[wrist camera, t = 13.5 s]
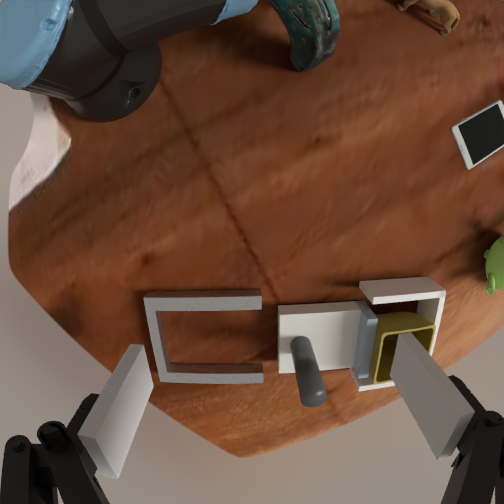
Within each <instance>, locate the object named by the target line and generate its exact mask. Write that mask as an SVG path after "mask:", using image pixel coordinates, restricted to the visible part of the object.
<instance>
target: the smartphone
mask: <svg viewBox="0 0 504 504" xmlns="http://www.w3.org/2000/svg"><path fill="white" fill-rule="evenodd" d="M451 131H452V133H453V136H454V138H455V140H456V143H457V145H458V148H459V150H460V153H461V155H462V158H463V160H464V163H465V165H466V168H467V169H468V168H469V169H471V168H473V167H474V166H476V165H477V164H478V163H480V162H481V161H483V160H484V159H486V158H487V157H489V156H490V155H492V154H493V153H494V152H496V151H497V150H499V149H500V148H502V147H503V146H504V106H503V104H502V102H501V101H500V100H498V101H496V102H494V103H492V104H491V105H489V106H487V107H485V108H484V109H482V110H480V111H478V112H476V113H475V114H472V115H471V116H469V117H467V118H465V119H464V120H462V121H460V122H459V123H457V124H455V125H453V126H452V127H451ZM469 169H468V170H469Z"/></svg>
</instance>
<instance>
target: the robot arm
mask: <svg viewBox="0 0 504 504" xmlns="http://www.w3.org/2000/svg"><path fill="white" fill-rule="evenodd" d="M257 2H258V0H2V2H1V3H0V83H3V84H6V85H8V86H10V87H11V88H13V89H17V90H18V89H21V90H26V91H31V92H35V93H39V94H44V95H48V96H52V97H56V98H60V99H63V100H65V102H66V104H67V105H68V107H69V108H70V109H71V110H72V111H73V112H74V113H75V114H77V115H78V116H80V117H82V118H85V119H88V120H92V121H97V122H110V121H115V120H118V119H121V118H123V117H125V116H127V115H129V114H131V113H132V112H134V111H135V110H136V109H138V108H139V107H140V106H141V105H142V104H143V103H144V102H145V101H146V100H147V99H148V97H149V96H150V95H151V93H152V92H153V90H154V88H155V86H156V84H157V82H158V79H159V76H160V72H161V66H162V58H161V52H160V49H159V46H158V44H157V43H156V41H159V40H162V39H164V38H167V37H170V36H172V35H175V34H178V33H181V32H184V31H187V30H190V29H193V28H196V27H200V26H203V25H206V24H208V25H214V24H217V23H218V22H220V21H221V20H224V19H227V18H231V17H234V16H238V15H241V14H244V13H246V12H248V11H250V10H251V9H252V8H253V7H254V6H255V5H256V4H257ZM390 377H391V378H392V380H393V382H394V384H395V385H396V387H397V389H398V390H399V392H400V394H401V396H402V397H403V399H404V401H405V402H406V404H407V406H408V408H409V409H410V411H411V413H412V415H413V416H414V418H415V420H416V421H417V423H418V426H419V427H420V429H421V431H422V433H423V435H424V436H425V438H426V440H427V442H428V444H429V446H430V447H431V449H432V451H433V453H434V455H435V457H436V459H437V460H439V459H442V458H445V457H448V456H450V455H452V453H453V452H454V450H455V448H456V447H457V448H458V450H459V451H460V452H459V454H458V456H457V457H456V459H455V461H454V462H453V464H452V465H451V467H453V466H454V468H453V471H452V474H451V477H450V480H449V483H448V486H447V489H446V491H445V494H444V496H443V499H442V502H441V504H490V503H491V499H492V495H493V491H494V487H495V504H504V418H503V417H502V416H501V415H500V414H499V413H497V412H494V411H486V410H485V409H484V407H483V406H482V405H481V404H480V403H479V401H478V400H477V399H476V397H475V396H474V395H473V394H472V393H471V391H470V390H469V389H468V388H467V387H466V385H465V384H464V383H463V382H462V380H460V379H459V378H457V377H455V376H454V375H452V376H447V375H446V374H445V373H444V371H443V370H442V369H441V368H440V366H439V365H438V364H437V363H436V362H435V360H434V359H433V358H432V357H431V355H430V354H429V353H428V352H427V351H426V349H425V348H424V347H423V346H422V345H421V344H420V342H419V341H418V340H417V339H416V338H415V336H414V335H413V334H412V333H411V332H410V333H403V334H399V335H398V340H397V345H396V350H395V355H394V359H393V364H392V368H391V372H390ZM153 387H154V386H153V382H152V378H151V374H150V370H149V366H148V362H147V357H146V353H145V349H144V345H136V344H130V345H129V347H128V348H127V350H126V352H125V353H124V355H123V357H122V358H121V360H120V362H119V363H118V365H117V366H116V368H115V370H114V371H113V373H112V375H111V377H110V378H109V380H108V382H107V383H106V385H105V387H104V389H103V390H102V392H101V394H100V395H99V394H90V395H89V396H88V397H86V398H85V399H84V400H83V401H82V403H81V405H80V406H79V409H78V410H77V411H76V414H75V415H74V416H73V418H72V419H71V421H70V423H69V425H68V426H67V428H66V427H65V426H64V424H62V423H61V422H58V421H49V422H47V423H44V424H43V425H42V426H40V428H39V429H38V431H37V437H38V439H39V440H40V442H41V444H31V442H30V441H29V439H28V438H27V437H25V436H23V435H17V436H13V437H11V438H10V439H9V440H8V441H7V443H6V445H5V450H4V459H3V467H2V477H1V490H0V504H58V495H57V487H58V490H59V492H60V495H61V498H62V500H63V503H64V504H110V503H109V501H108V500H107V498H106V496H105V494H104V492H103V490H102V488H101V486H100V485H99V482H98V480H97V478H96V477H95V472H96V470H97V469H98V471H99V472H100V474H101V475H102V476H104V477H108V478H113V479H119V476H120V473H121V470H122V468H123V465H124V462H125V459H126V457H127V454H128V451H129V449H130V446H131V443H132V440H133V438H134V435H135V433H136V430H137V427H138V425H139V422H140V420H141V417H142V414H143V412H144V409H145V407H146V404H147V402H148V399H149V397H150V394H151V392H152V389H153Z"/></svg>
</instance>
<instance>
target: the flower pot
mask: <svg viewBox="0 0 504 504" xmlns="http://www.w3.org/2000/svg"><path fill="white" fill-rule="evenodd" d="M375 315H376V317H377V318H378V322H377V328H376V334H375V341H374V347H373V352H372V358H371V363H370V368H369V373H370V376H371V379H372V382H373V384H374V385H376V384H382V383H387V382H392V381H393V380H392V378H391V377H390V372H391V368H392V364H393V359H394V355H395V350H396V345H397V340H398V335H399V334H403V333H410V332H411V333H412V334H413V335H414V336H415V338H416V339H417V340H418V341H419V342H420V344H421V345H422V346H423V347H424V348H425V349H426V351H427V352H428V353H429V354H430V350H431V347H432V342H433V339H434V334H435V329H436V326H435V325H434V324H432V323H431V322H429V321H428V320H426V319H424V318H423V317H421V316H419V315H418V314H415V313H412V312H392V313H385V314H375Z"/></svg>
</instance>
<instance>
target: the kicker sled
mask: <svg viewBox="0 0 504 504" xmlns="http://www.w3.org/2000/svg"><path fill="white" fill-rule="evenodd" d="M377 322H378V318H377V317H376V315H375V314H374V313H373V311H372V310H371V309H370V308H369V306H368V305H367V304H366V302H365V301H350V302H336V303H319V304H301V305H279V306H278V368H279V373H294V372H295V374H296V379H297V384H298V389H299V394H300V399H301V403H302V404H303V405H304V406H307V407H316V406H319V405H321V404H322V403H324V402H325V400H326V398H327V393H326V390H325V386H324V383H323V380H322V377H321V373H320V371H321V370H331V369H341V368H350V367H353V368H354V370H355V373H356V375H357V377H358V379H359V378H366V377H368V373H369V368H370V363H371V358H372V352H373V347H374V341H375V334H376V328H377Z"/></svg>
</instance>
